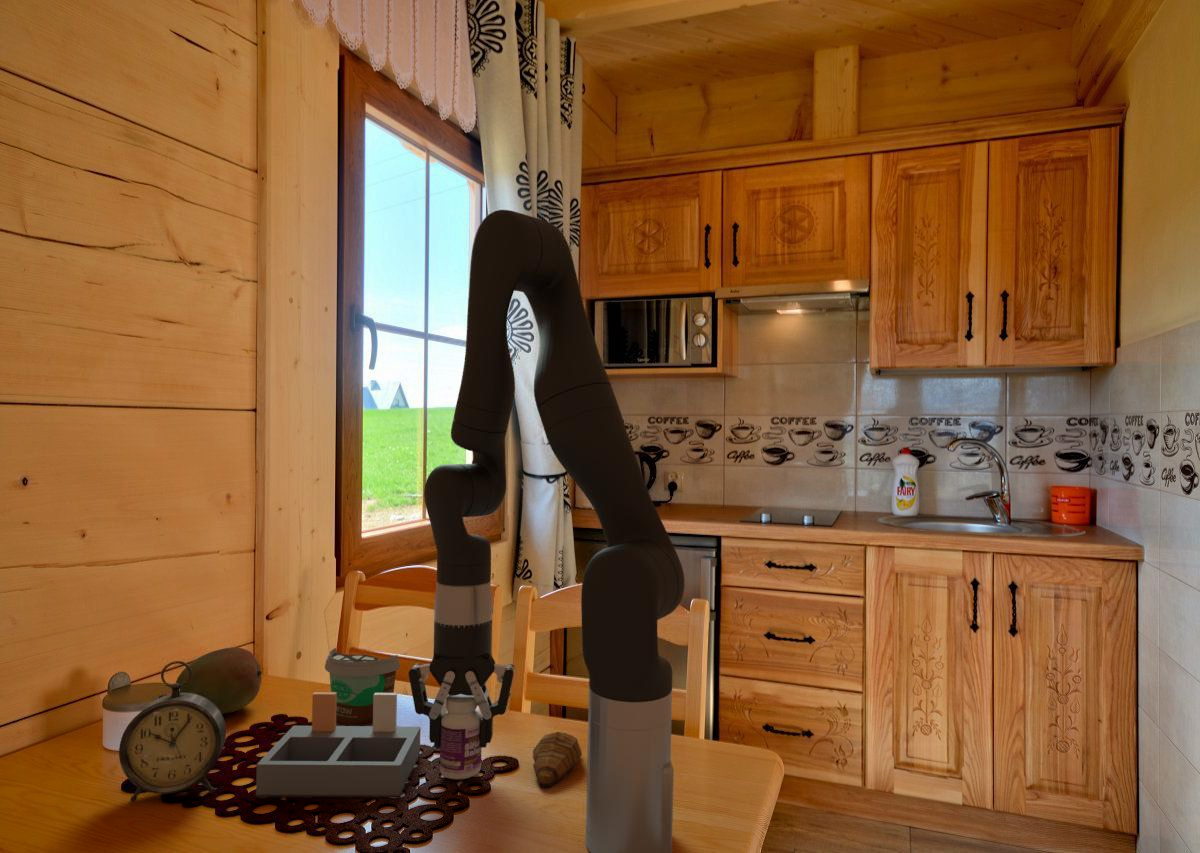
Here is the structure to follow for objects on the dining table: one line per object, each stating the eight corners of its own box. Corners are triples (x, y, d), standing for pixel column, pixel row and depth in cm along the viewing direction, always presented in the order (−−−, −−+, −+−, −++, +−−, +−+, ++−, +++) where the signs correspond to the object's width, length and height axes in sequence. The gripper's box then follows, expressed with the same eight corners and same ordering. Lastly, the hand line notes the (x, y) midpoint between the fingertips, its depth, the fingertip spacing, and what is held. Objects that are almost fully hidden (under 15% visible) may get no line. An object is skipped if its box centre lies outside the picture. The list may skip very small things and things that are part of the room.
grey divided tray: (419, 755, 104) (421, 690, 104) (399, 797, 92) (401, 724, 92) (292, 754, 103) (294, 689, 103) (255, 797, 91) (257, 723, 91)
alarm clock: (116, 808, 88) (119, 670, 88) (131, 787, 93) (134, 656, 93) (218, 798, 91) (221, 664, 91) (227, 778, 96) (231, 651, 96)
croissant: (570, 795, 94) (571, 755, 94) (519, 789, 96) (519, 750, 96) (590, 750, 108) (591, 715, 108) (544, 745, 109) (545, 711, 109)
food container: (306, 723, 114) (307, 657, 114) (331, 709, 120) (333, 646, 120) (376, 734, 111) (377, 666, 111) (399, 719, 117) (400, 655, 117)
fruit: (253, 723, 114) (255, 658, 114) (161, 730, 111) (163, 663, 111) (266, 697, 125) (268, 637, 125) (183, 702, 122) (184, 641, 122)
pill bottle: (472, 782, 95) (473, 706, 95) (433, 778, 96) (434, 703, 96) (487, 764, 100) (488, 692, 100) (450, 760, 101) (450, 689, 101)
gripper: (401, 622, 94) (399, 757, 94) (515, 623, 95) (513, 757, 95) (414, 608, 102) (412, 733, 102) (520, 609, 102) (518, 733, 102)
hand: (461, 744), depth 98 cm, fingers closed on pill bottle, 5 cm apart
